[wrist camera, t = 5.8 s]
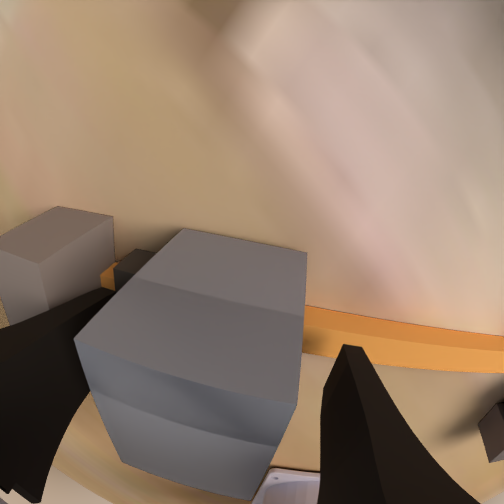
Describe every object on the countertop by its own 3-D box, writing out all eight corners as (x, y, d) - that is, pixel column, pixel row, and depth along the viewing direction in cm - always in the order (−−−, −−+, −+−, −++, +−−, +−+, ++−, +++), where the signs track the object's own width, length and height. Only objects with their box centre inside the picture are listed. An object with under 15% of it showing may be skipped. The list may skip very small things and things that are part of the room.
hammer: (532, 384, 10) (555, 433, 7) (72, 305, 13) (22, 354, 9) (577, 312, 8) (613, 358, 5) (57, 206, 11) (-14, 244, 7)
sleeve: (275, 372, 12) (250, 500, 7) (181, 349, 12) (121, 461, 7) (307, 252, 9) (296, 404, 4) (183, 228, 10) (73, 338, 5)
